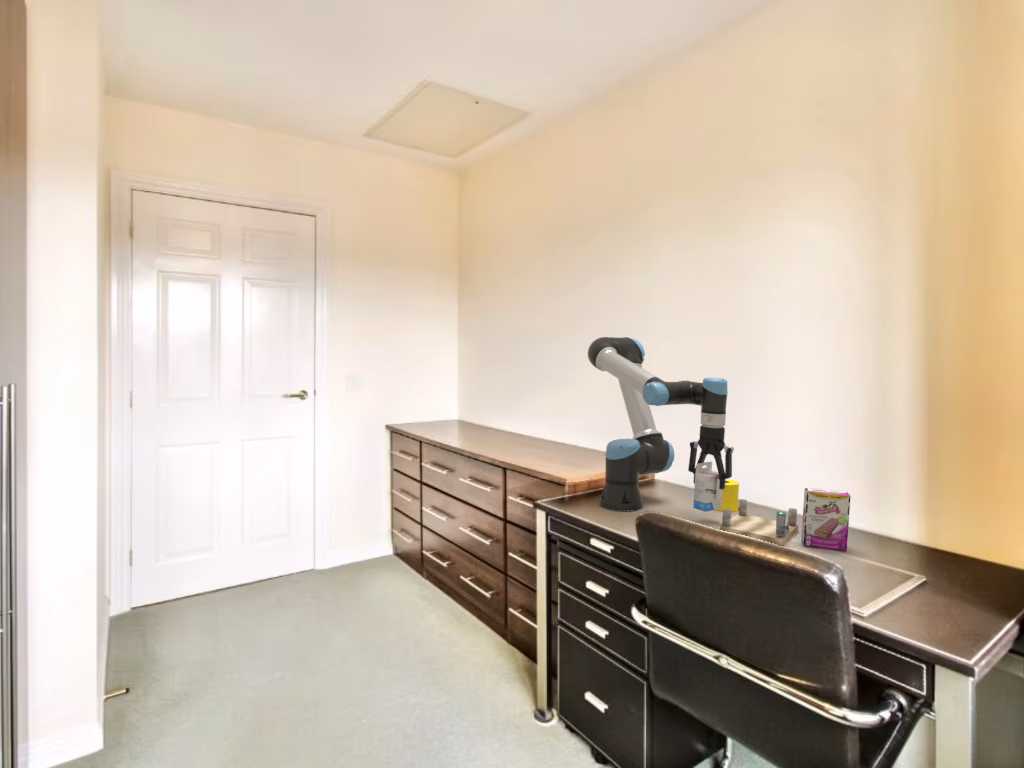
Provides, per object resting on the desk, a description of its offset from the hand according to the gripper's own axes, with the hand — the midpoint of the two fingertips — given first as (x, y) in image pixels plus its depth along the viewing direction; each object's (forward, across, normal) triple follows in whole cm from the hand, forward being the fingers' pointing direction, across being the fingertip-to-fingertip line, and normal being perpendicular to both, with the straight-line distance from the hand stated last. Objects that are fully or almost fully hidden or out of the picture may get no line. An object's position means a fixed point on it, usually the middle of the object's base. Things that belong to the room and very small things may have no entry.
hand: (708, 496), depth 181 cm
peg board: (+8, +16, +2) cm, 18 cm away
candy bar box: (+8, +34, +1) cm, 35 cm away
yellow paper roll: (+9, -2, +21) cm, 23 cm away
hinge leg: (+6, +23, -2) cm, 24 cm away
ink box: (+4, 0, 0) cm, 4 cm away
